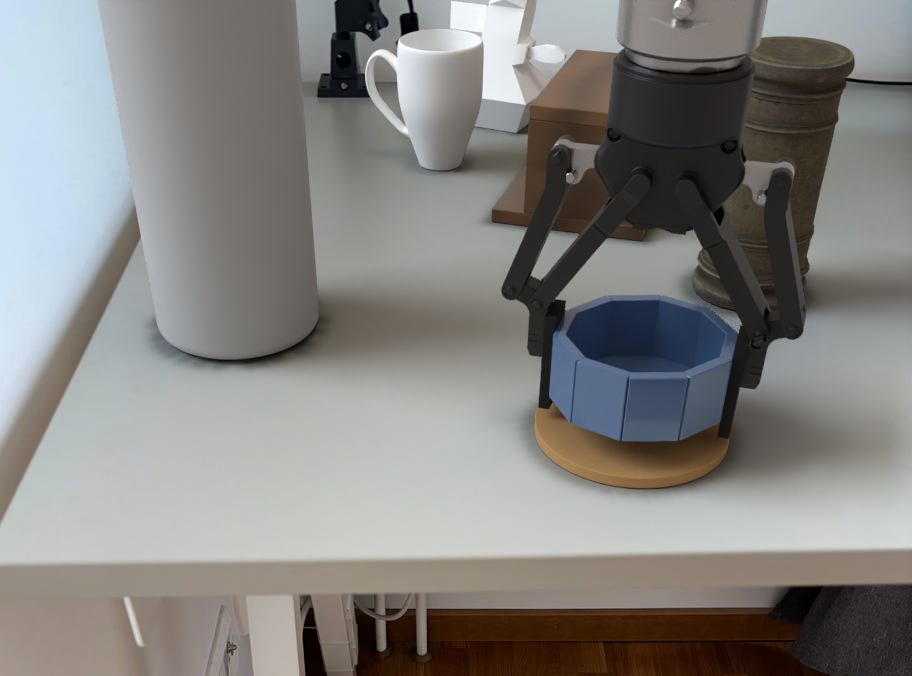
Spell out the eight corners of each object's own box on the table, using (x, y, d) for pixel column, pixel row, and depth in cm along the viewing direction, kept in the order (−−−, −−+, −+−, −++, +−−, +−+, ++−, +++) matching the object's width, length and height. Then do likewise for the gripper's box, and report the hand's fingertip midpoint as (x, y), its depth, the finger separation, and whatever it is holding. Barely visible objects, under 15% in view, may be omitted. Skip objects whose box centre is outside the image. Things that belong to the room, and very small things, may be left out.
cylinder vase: (308, 366, 80) (275, -22, 63) (141, 362, 81) (64, -24, 64) (329, 291, 90) (304, -65, 73) (179, 288, 90) (120, -67, 73)
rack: (673, 172, 110) (690, 59, 103) (641, 241, 97) (658, 117, 90) (539, 156, 113) (546, 46, 106) (491, 221, 100) (495, 101, 93)
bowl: (733, 371, 75) (746, 305, 71) (710, 462, 67) (724, 392, 63) (573, 348, 77) (579, 284, 74) (532, 432, 69) (536, 364, 66)
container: (823, 289, 90) (884, 49, 78) (764, 325, 85) (820, 75, 73) (730, 257, 95) (775, 26, 82) (669, 289, 90) (707, 49, 78)
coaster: (738, 402, 77) (740, 392, 76) (714, 504, 68) (716, 494, 67) (558, 373, 80) (559, 363, 79) (512, 467, 71) (512, 457, 70)
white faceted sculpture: (544, 141, 116) (554, -5, 107) (427, 122, 121) (427, -20, 112) (572, 118, 122) (584, -23, 113) (459, 100, 127) (461, -36, 117)
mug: (491, 155, 113) (495, 33, 106) (465, 182, 108) (467, 55, 100) (384, 141, 116) (381, 21, 109) (353, 167, 111) (347, 43, 103)
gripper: (452, 52, 58) (449, 412, 73) (919, 93, 52) (813, 473, 67) (491, 17, 63) (481, 360, 78) (919, 51, 58) (821, 413, 72)
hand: (635, 413), depth 73 cm, fingers closed on bowl, 11 cm apart
